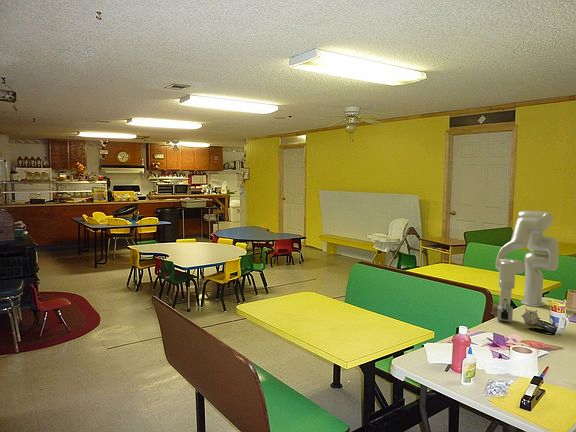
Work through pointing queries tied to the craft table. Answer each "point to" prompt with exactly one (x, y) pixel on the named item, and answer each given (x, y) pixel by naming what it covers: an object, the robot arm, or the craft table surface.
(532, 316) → the grey spiky ball
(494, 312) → the walnut block
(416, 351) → the craft table surface
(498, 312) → the grey block
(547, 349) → the craft table surface
